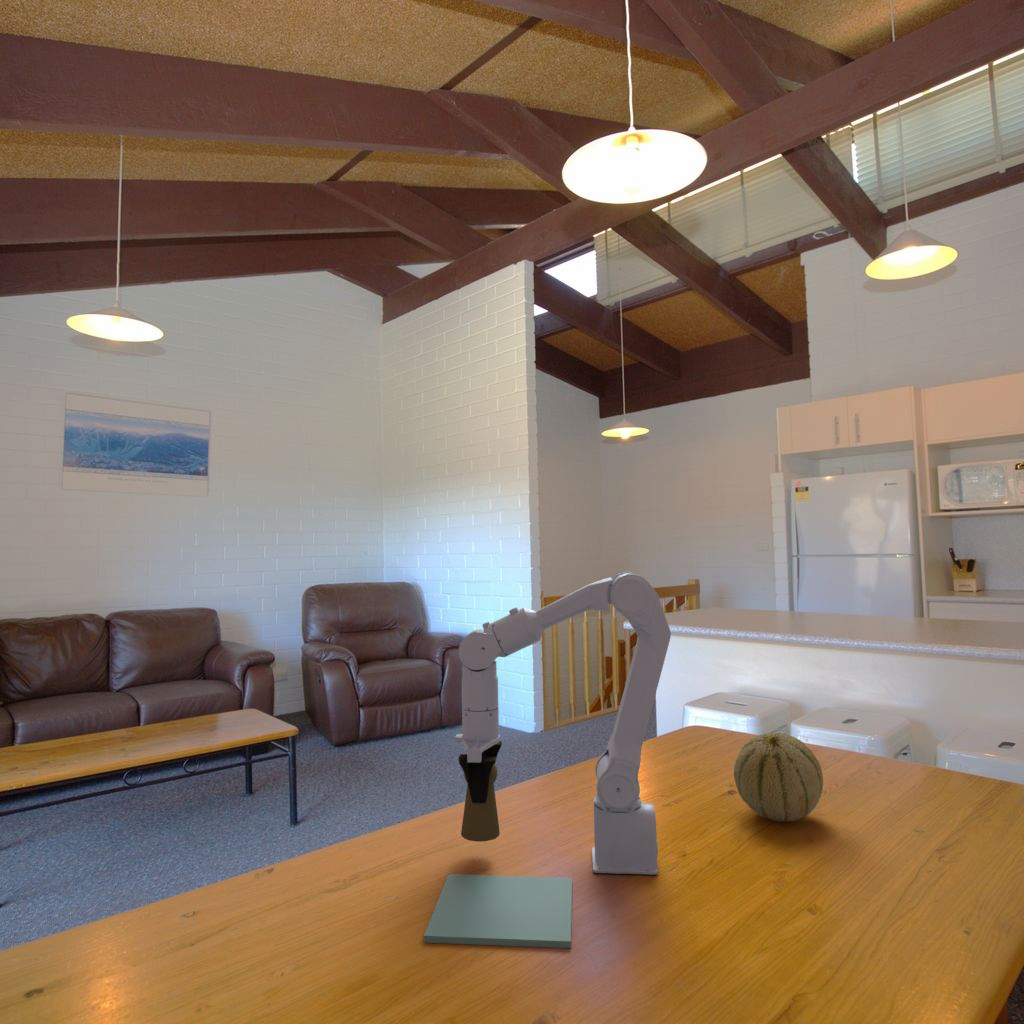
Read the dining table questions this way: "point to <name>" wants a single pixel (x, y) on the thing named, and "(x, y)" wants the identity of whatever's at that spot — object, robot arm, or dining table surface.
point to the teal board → (503, 911)
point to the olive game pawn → (481, 815)
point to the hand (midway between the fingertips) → (481, 795)
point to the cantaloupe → (778, 777)
